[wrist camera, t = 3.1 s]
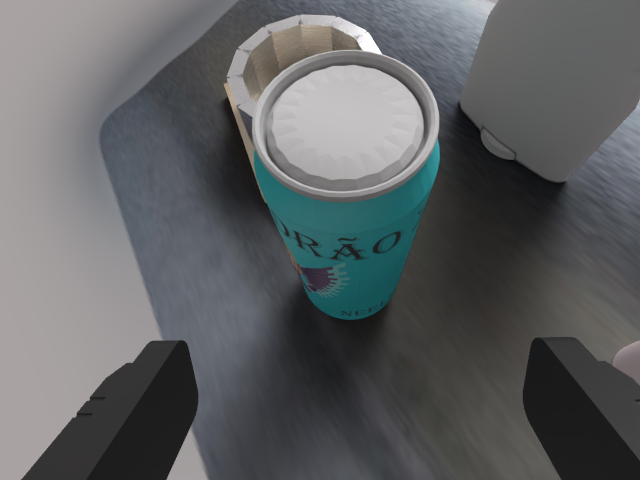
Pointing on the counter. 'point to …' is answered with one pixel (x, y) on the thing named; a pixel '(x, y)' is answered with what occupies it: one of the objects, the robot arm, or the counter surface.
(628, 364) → the smoothie
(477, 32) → the counter surface
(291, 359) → the counter surface
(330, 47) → the collar
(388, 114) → the beverage can
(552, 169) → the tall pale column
